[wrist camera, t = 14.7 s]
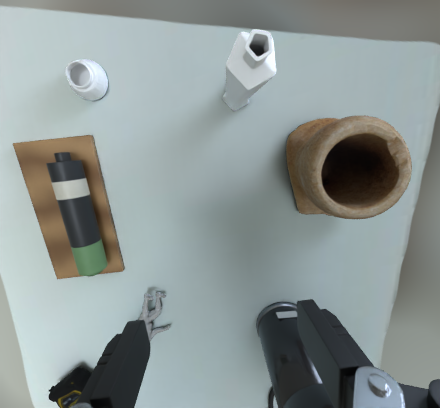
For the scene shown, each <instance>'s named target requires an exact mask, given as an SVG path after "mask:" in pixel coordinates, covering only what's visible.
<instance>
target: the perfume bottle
mask: <svg viewBox="0 0 440 408" xmlns="http://www.w3.org/2000/svg"><path fill="white" fill-rule="evenodd" d="M275 74H276V63H275V53H274V44H273V39H272V37H271V33H270V32H268V31H263V30H257V29H253V30H252V31H251V33H246V32H240V33H239V35H238V37H237V39H236V42H235V44H234V46H233V49H232V51H231V53H230V56H229V58H228V60H227V62H226V91H225V93H224V96H223V101H224V102H225V103H226V104H227V105H228V106H229V107H230V108H231V109H232V110H233V111H236V110H238V109H240V108H242V107H243V106H245V105H247V104H248V103H249V98H250V97H251V96H252V95H253V94H254V93H256V92H257V91H258V90H259V89H260V88H261V87H262V86H263V85H264V84H265V83H267V82H268V81H269V80H270V79H271V78H272V77H273V76H274V75H275Z"/></svg>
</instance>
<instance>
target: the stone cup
mask: <svg viewBox="0 0 440 408" xmlns="http://www.w3.org/2000/svg"><path fill="white" fill-rule="evenodd" d="M286 157H287V166H288V171H289V175H290V180H291V184H292V188H293V192H294V196H295V199H296V204H297V208H298V211H299V213H301V214H326V215H329V216H335V217H339V218H345V219H365V218H370V217H374V216H376V215H379V214H381V213H383V212H385V211H386V210H388V209H389V208H391V207H392V206H393V205H394V204H395V203H396V202H398V200H399V199H400V197H401V196H402V195H403V193H404V192H405V190H406V189H407V187H408V184H409V182H410V178H411V170H412V164H411V158H410V154H409V150H408V148H407V145H406V143H405V141H404V139H403V138H402V136H401V135H400V134H399V133H398V132H397V131H396V130H395V129H394V127H392V126H391V125H390V124H388V123H387V122H385V121H383V120H381V119H378V118H375V117H369V116H350V117H345V118H342V119H336V118H324V119H317V120H313V121H310V122H307V123H305V124H303V125H301V126H299V127H298V128H297V129H296V130H295V131H293V132H292V133H291V134H290V135H289V137H288V140H287V145H286Z"/></svg>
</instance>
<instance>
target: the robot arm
mask: <svg viewBox="0 0 440 408" xmlns="http://www.w3.org/2000/svg"><path fill="white" fill-rule="evenodd" d="M256 326H257V331H258V335H259V337H260V341H261V344H262V348H263V352H264V356H265V360H266V363H267V367H268V371H269V375H270V378H271V382H272V386H273V389H272V390H271V392H270V395H269V408H273V398H274V395H275V397H276V401H277V405H278V408H440V379H437V380H433V381H432V382H431V383H430V384H429V389H424V388H419V387H414V386H409V385H404V384H400V383H398V382H396V381H395V380H394V379H393V378H392V377H391V376H390V375H389V374H387V373H386V372H384V371H383V370H381V369H378V368H376V367H374V366H373V364H372V363H371V362H370V360H369V359H368V358H367V356H366V355H365V354H364V353H363V351H362V350H361V349H360V347H359V346H358V345H357V343H356V342H355V341H354V340H353V338H352V337H351V336H350V335H349V334H348V332H347V330H346V329H345V328H344V327H343V326H342V324H341V323H340V321H339V320H338V319H337V317H336V316H335V315H333V314H332V313H331V312H329V311H328V310H326V309H321V310H320V309H319V307H318V306H317V305H316V303H315V302H314V300H312V299H310V300H302V301H298V302H297V306H296V305H295V304H292V303H288V302H280V303H275V304H272V305H270V306H268V307H267V308H265V309H264V310H263V311H262V312H261V314H260V315H259V317H258V319H257V324H256ZM149 356H150V341H149V337H148V332H147V328H146V324H145V321H144V320H136V321H129V322H127V324H126V326H125V328H124V330H123V332H122V334H117V335H116V336H115V337H114V338H113V339H112V340H111V341H110V342H109V343H108V344H107V346H106V348H105V350H104V352H103V354H102V357H100V359H99V361H98V363H97V366H96V367H95V368H94V370H93V372H92V374H91V376H90V378H89V380H88V381H87V383H86V385H85V387H84V389H83V391H82V393H81V394H80V396H79V398H78V400H77V402H76V404H75V405H73V406H71V407H70V408H134V406H135V403H136V400H137V396H138V393H139V390H140V386H141V383H142V380H143V376H144V373H145V370H146V366H147V363H148V360H149Z"/></svg>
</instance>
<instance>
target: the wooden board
mask: <svg viewBox="0 0 440 408" xmlns="http://www.w3.org/2000/svg"><path fill="white" fill-rule="evenodd" d="M13 146H14V149H15V152H16V155H17V158H18V161H19V164H20V167H21V170H22V174H23V177H24V180H25V183H26V186H27V189H28V192H29V195H30V198H31V201H32V204H33V207H34V210H35V213H36V216H37V219H38V222H39V225H40V228H41V231H42V234H43V237H44V240H45V243H46V246H47V249H48V252H49V255H50V258H51V262H52V265H53V268H54V271H55V274H56V277H57V279H62V278H71V277H79V276H81V275H79V273H78V270H77V266H76V263H75V260H74V256H73V253H72V249H71V246H70V243H69V239H68V236H67V233H66V229H65V226H64V222H63V219H62V216H61V212H60V209H59V205H58V202H57V199H56V196H55V193H54V190H53V186H52V182H51V178H50V175H49V172H48V168H47V165H46V163H52V162H56V160H55V156H54V153H60V152H70V155H71V159H72V161H73V160H81V161H82V165H83V169H84V173H85V176H86V179H87V183H88V187H89V191H90V196H91V200H92V204H93V208H94V212H95V216H96V220H97V224H98V227H99V231H100V235H101V239H102V243H103V247H104V251H105V255H106V259H107V263H108V265H107V267H106V268H105V269H103V271H102V272H101V273H99V274H104V273H113V272H121V271H123V270H124V265H123V260H122V256H121V252H120V248H119V244H118V240H117V235H116V231H115V227H114V223H113V219H112V215H111V210H110V206H109V202H108V198H107V194H106V190H105V186H104V181H103V177H102V173H101V169H100V165H99V161H98V156H97V152H96V148H95V144H94V140H93V136H92V135H86V136H76V137H67V138H58V139H49V140H39V141H30V142H21V143H13Z"/></svg>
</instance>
